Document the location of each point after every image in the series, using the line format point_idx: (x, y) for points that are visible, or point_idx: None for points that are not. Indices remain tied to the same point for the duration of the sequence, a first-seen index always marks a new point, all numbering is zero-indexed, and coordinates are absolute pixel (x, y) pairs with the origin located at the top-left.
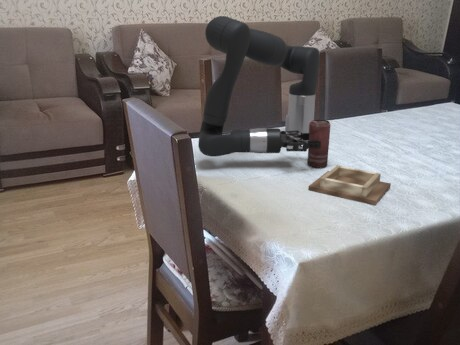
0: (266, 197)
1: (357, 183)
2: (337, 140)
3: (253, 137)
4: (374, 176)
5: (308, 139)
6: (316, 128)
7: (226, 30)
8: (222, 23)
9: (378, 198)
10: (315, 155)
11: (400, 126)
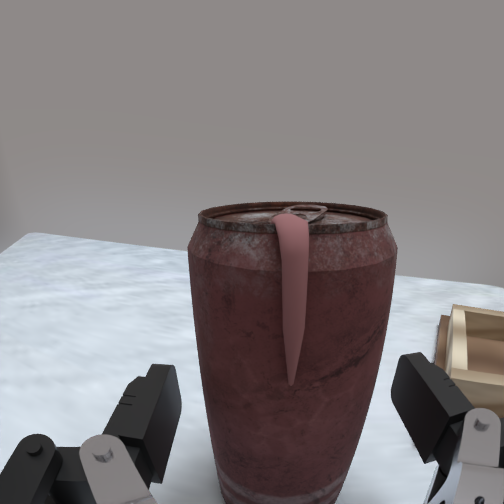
0: None
1: (488, 357)
2: (21, 337)
3: None
4: (480, 311)
5: (170, 438)
6: (394, 270)
7: None
8: None
9: None
10: (351, 459)
11: (46, 261)
